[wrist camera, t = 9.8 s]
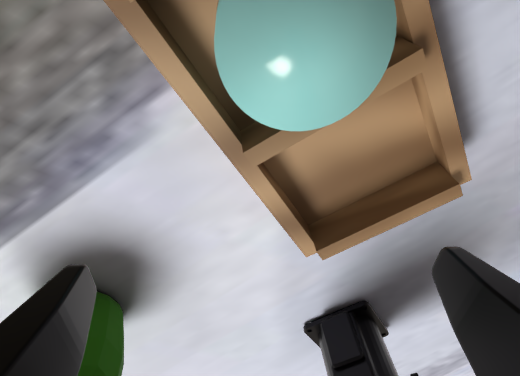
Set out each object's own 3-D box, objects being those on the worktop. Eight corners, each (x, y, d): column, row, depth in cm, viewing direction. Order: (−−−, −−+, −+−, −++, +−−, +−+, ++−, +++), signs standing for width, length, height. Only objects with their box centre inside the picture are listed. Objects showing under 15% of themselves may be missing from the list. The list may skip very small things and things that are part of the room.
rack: (448, 158, 21) (480, 187, 19) (299, 232, 24) (308, 266, 21) (346, -207, 12) (382, -251, 9) (112, -16, 14) (88, -8, 12)
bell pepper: (161, 308, 28) (136, 456, 20) (95, 346, 30) (49, 493, 22) (72, 256, 23) (-6, 420, 15) (3, 306, 26) (-97, 470, 17)
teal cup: (306, -94, 13) (359, -122, 8) (356, 38, 16) (417, 76, 11) (190, -8, 14) (174, 14, 9) (257, 98, 17) (271, 157, 12)
